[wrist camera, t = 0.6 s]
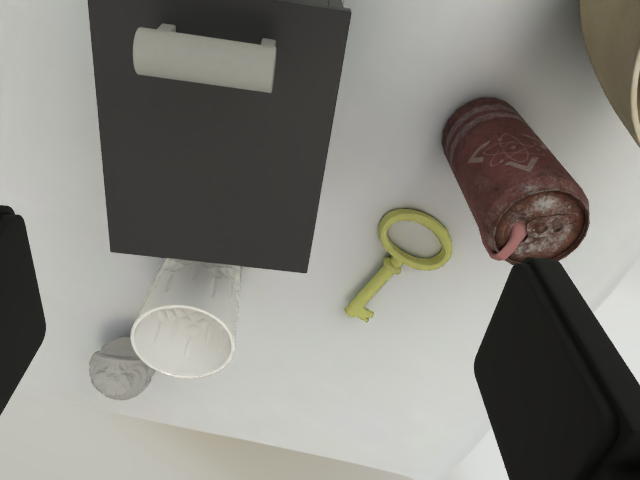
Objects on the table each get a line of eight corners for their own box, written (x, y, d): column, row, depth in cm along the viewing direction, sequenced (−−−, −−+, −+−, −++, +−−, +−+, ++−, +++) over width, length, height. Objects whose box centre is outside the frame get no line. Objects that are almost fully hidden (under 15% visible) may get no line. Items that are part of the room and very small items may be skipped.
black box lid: (90, -33, 26) (42, -11, 21) (350, 8, 27) (358, 37, 23) (114, 245, 35) (84, 301, 31) (307, 266, 37) (306, 323, 32)
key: (340, 304, 52) (342, 319, 51) (388, 200, 46) (391, 213, 44) (408, 320, 54) (412, 335, 52) (464, 221, 47) (470, 235, 45)
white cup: (228, 220, 47) (211, 295, 39) (258, 287, 51) (248, 368, 43) (145, 240, 48) (111, 318, 40) (182, 304, 52) (157, 386, 44)
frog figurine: (163, 320, 53) (145, 375, 48) (162, 368, 57) (145, 424, 52) (100, 313, 53) (74, 367, 47) (103, 361, 57) (80, 417, 51)
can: (422, 143, 43) (462, 245, 31) (479, 79, 40) (547, 165, 28) (476, 182, 45) (533, 291, 33) (534, 124, 42) (619, 221, 30)
